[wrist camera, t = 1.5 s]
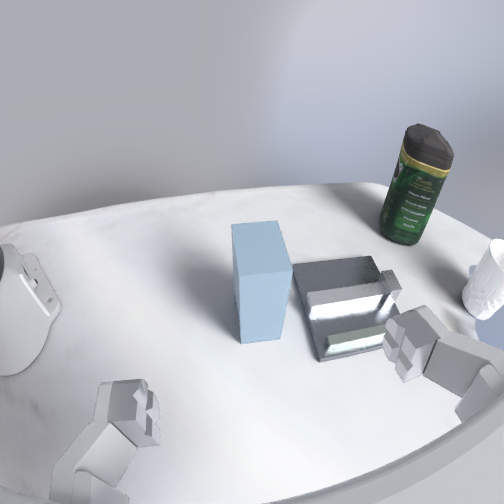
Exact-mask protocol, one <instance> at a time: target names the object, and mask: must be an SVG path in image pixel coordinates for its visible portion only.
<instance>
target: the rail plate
mask: <svg viewBox="0 0 504 504" xmlns="http://www.w3.org/2000/svg"><path fill="white" fill-rule="evenodd" d="M292 268H293V274H294V277H295V280H296V284H297V287H298V290H299V294H300V297H301V300H302V304H303V307H304V310H305V314H306V317H307V321H308V324H309V327H310V331H311V334H312V338H313V341H314V345H315V348H316V352H317V356H318V359H319V362H324V361H329V360H334V359H339V358H343V357H348V356H352V355H357V354H361V353H365V352H369V351H373V350H377V349H381V348H383V344H382V342H383V336H384V335H385V333H386V332H387V331H388V330H387V328H386V327H385V326H386V321H387V320H388V319H389V318H391V317H394V316H396V315H399V314H400V313H399V311H398V309H397V307H396V304H395V300H396V298H397V297H398V295H399V293H400V292H401V290H402V288H401V286H400V284H399V282H398V280H397V278H396V276H395V275H394V273H393V271H392V270H387V271H382V272H381V274H380V272H379V270H378V268H377V266H376V264H375V262H374V261H373V259H372V257H371V256H364V257H355V258H346V259H337V260H328V261H319V262H310V263H300V264H293V267H292Z"/></svg>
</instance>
